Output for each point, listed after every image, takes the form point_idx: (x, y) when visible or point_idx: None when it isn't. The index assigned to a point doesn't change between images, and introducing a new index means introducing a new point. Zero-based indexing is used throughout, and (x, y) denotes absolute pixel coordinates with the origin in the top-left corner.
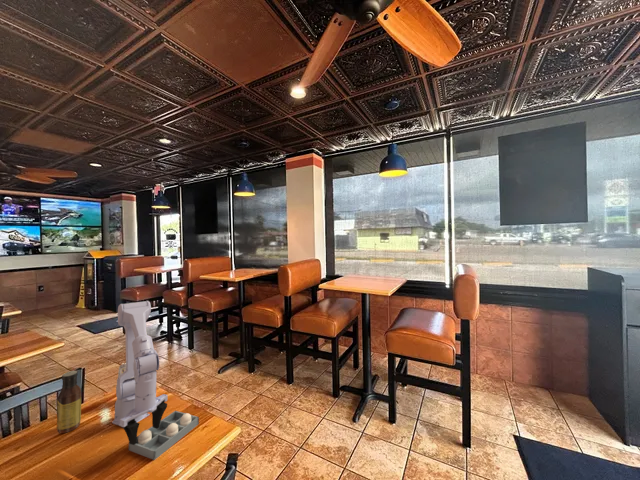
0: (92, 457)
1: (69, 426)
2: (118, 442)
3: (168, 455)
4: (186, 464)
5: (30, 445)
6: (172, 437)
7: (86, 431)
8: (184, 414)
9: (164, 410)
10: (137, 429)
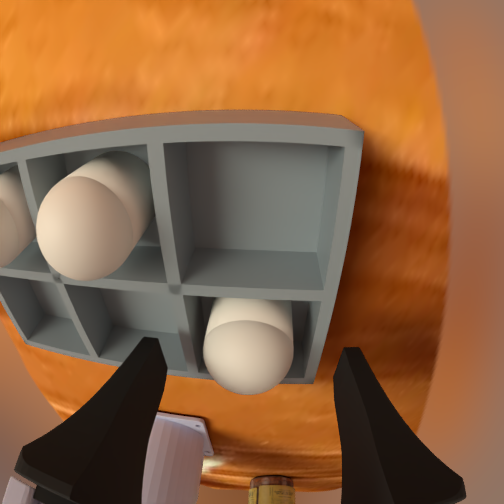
0: None
1: (283, 488)
2: (271, 402)
3: (250, 62)
4: None
5: (333, 479)
6: (139, 130)
7: (266, 464)
8: None
9: (55, 433)
10: (379, 452)
